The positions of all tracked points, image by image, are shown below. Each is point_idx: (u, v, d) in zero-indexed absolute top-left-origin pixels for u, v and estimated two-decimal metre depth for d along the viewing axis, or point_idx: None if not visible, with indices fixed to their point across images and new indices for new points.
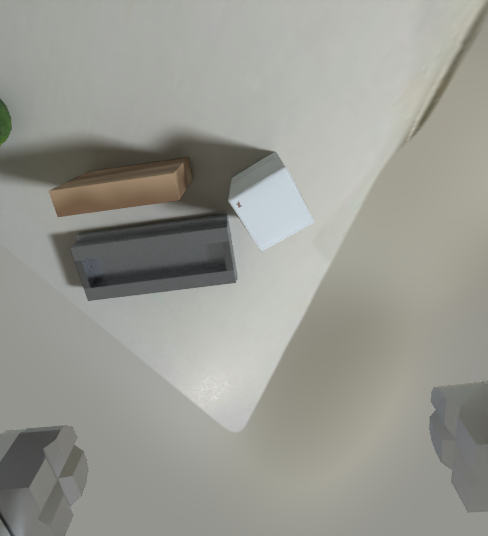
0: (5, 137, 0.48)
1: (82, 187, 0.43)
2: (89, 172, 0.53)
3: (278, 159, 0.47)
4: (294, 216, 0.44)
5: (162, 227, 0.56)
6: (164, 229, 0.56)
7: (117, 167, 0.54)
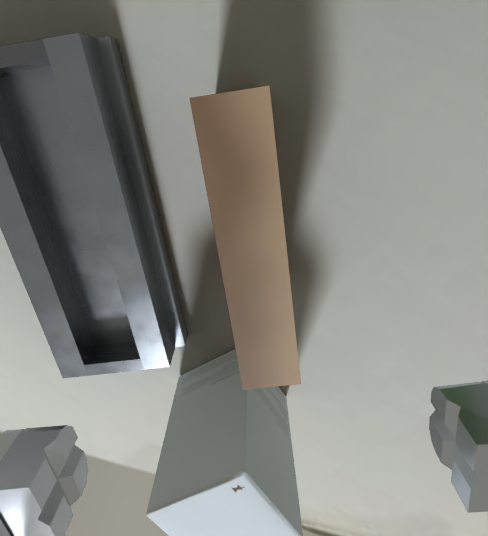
0: None
1: (276, 187, 0.16)
2: None
3: (293, 460, 0.29)
4: None
5: (152, 239, 0.28)
6: (150, 243, 0.28)
7: None
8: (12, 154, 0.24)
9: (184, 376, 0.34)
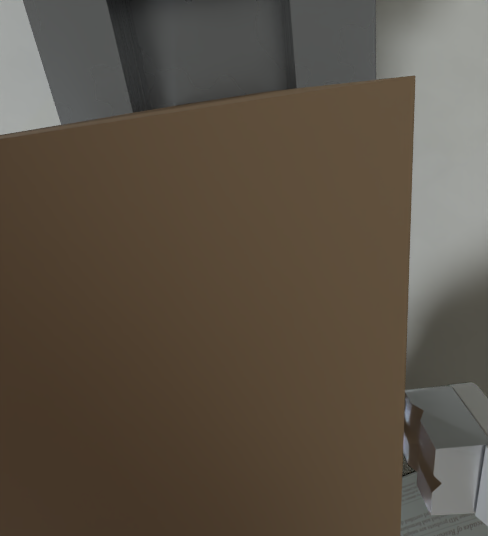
0: None
1: None
2: None
3: None
4: None
5: None
6: None
7: None
8: None
9: None
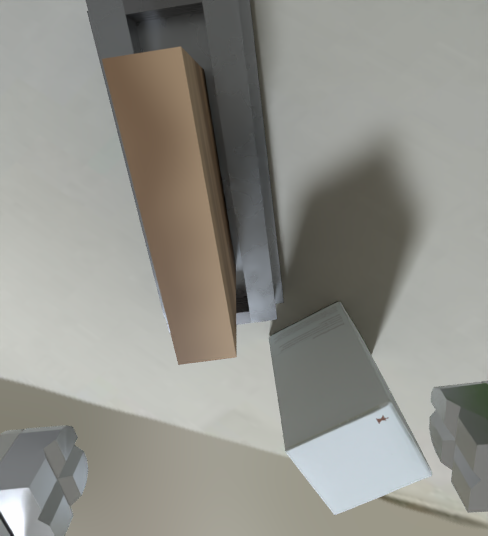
0: None
1: (196, 152, 0.16)
2: (204, 79, 0.24)
3: None
4: (347, 492, 0.25)
5: (265, 192, 0.29)
6: (262, 196, 0.29)
7: (214, 136, 0.27)
8: None
9: (276, 336, 0.35)
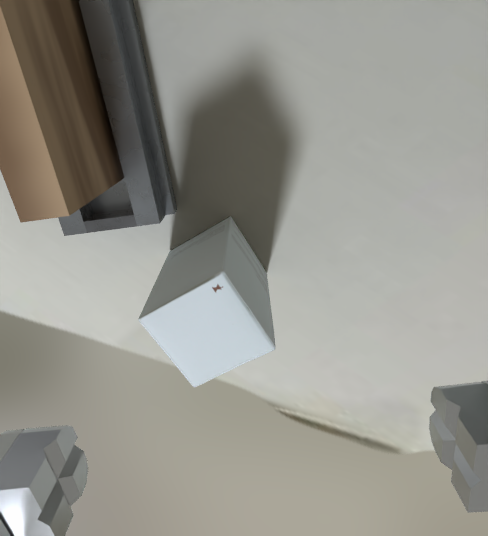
0: None
1: (0, 14, 0.19)
2: None
3: (270, 306, 0.33)
4: (200, 363, 0.29)
5: (145, 103, 0.32)
6: (142, 107, 0.32)
7: None
8: None
9: (174, 249, 0.38)
